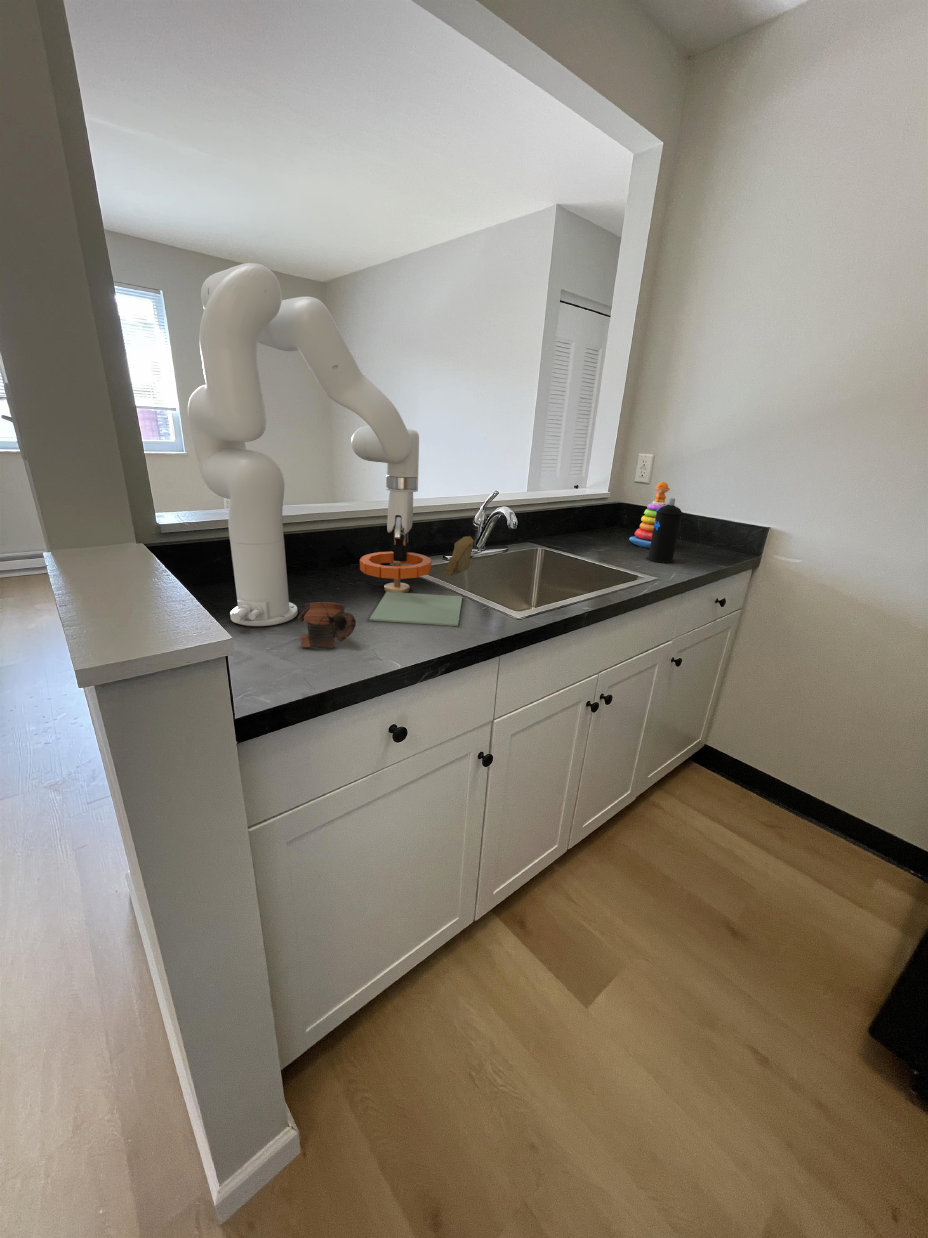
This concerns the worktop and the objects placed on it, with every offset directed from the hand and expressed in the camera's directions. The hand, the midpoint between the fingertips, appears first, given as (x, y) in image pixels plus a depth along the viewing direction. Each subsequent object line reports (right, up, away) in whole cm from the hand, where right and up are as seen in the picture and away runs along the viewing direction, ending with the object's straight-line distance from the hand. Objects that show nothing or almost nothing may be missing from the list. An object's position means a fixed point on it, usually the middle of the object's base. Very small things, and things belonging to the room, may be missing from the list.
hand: (401, 559), depth 124 cm
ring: (0, -3, -6) cm, 7 cm away
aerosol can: (+81, +4, +40) cm, 90 cm away
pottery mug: (-9, -19, -34) cm, 40 cm away
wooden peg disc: (0, -8, -4) cm, 9 cm away
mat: (+6, -13, -16) cm, 21 cm away
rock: (+13, -2, +14) cm, 20 cm away
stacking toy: (+86, +12, +61) cm, 106 cm away
